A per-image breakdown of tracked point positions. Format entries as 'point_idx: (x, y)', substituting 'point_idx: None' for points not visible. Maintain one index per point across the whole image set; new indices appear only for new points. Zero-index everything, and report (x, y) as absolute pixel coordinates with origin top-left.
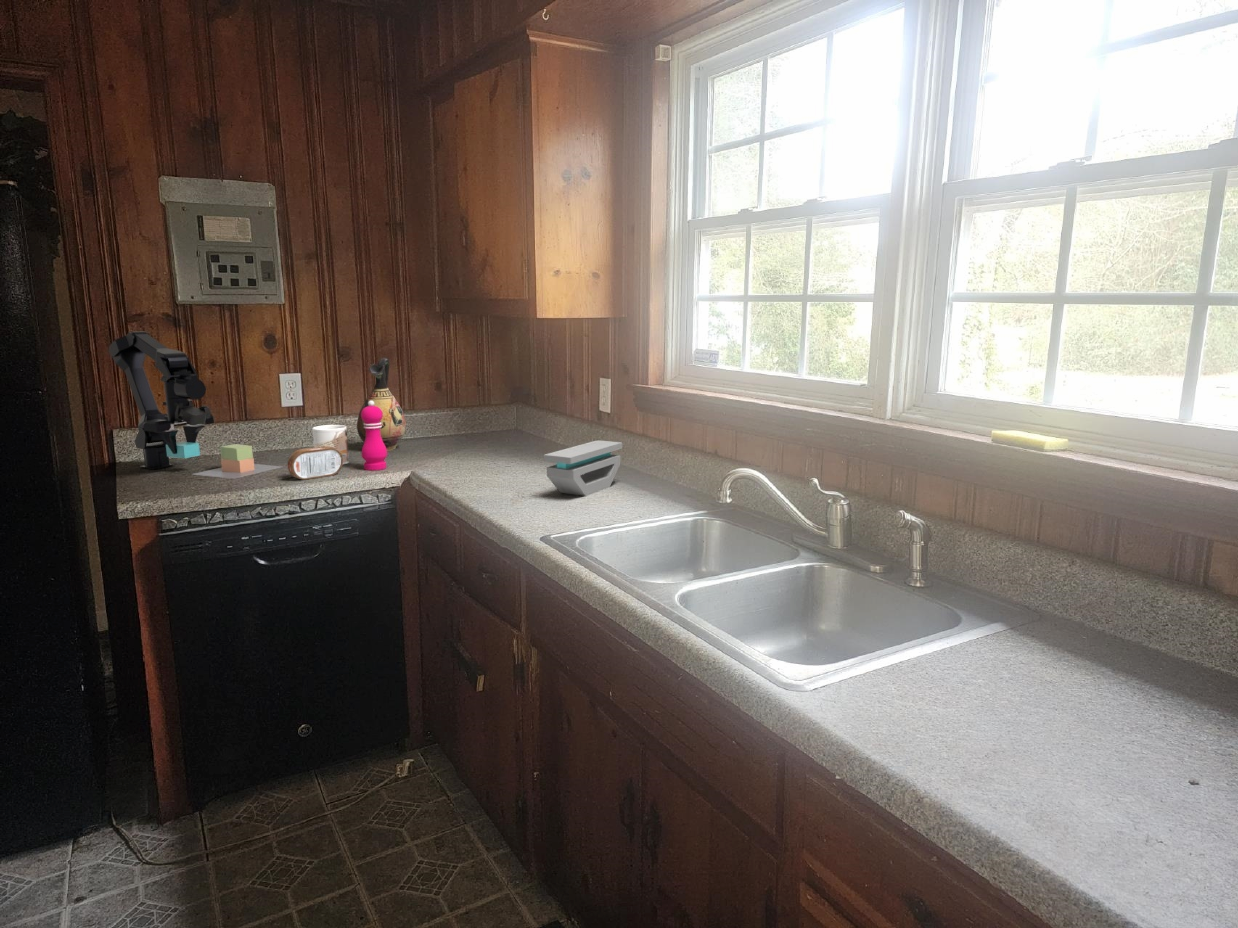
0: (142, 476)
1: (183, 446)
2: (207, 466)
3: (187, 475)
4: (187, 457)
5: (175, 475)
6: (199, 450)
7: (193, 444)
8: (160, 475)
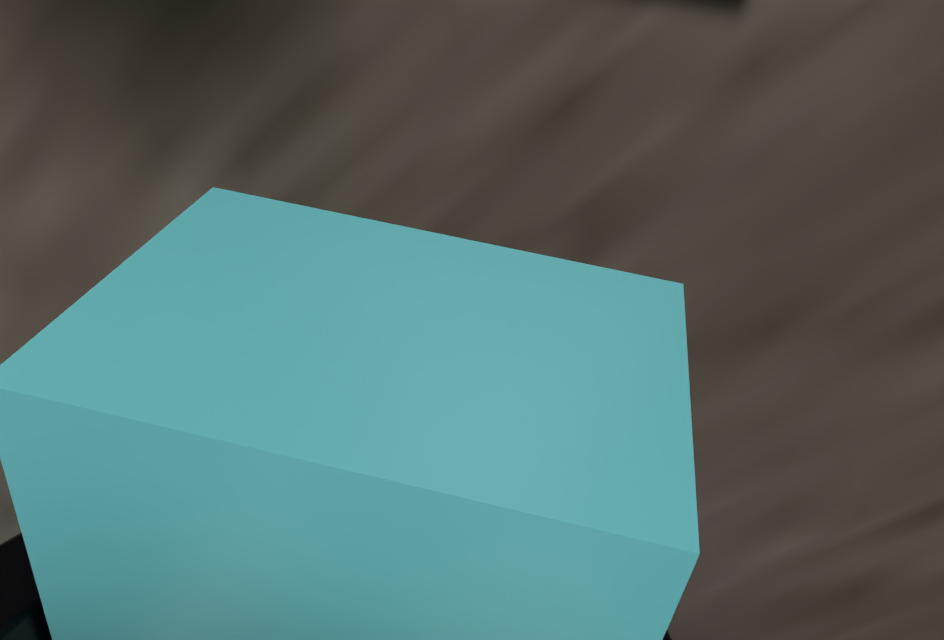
0: (790, 633)
1: (691, 543)
2: (25, 281)
3: (662, 119)
4: (603, 268)
5: (685, 310)
6: (147, 243)
7: (223, 433)
8: (708, 492)
